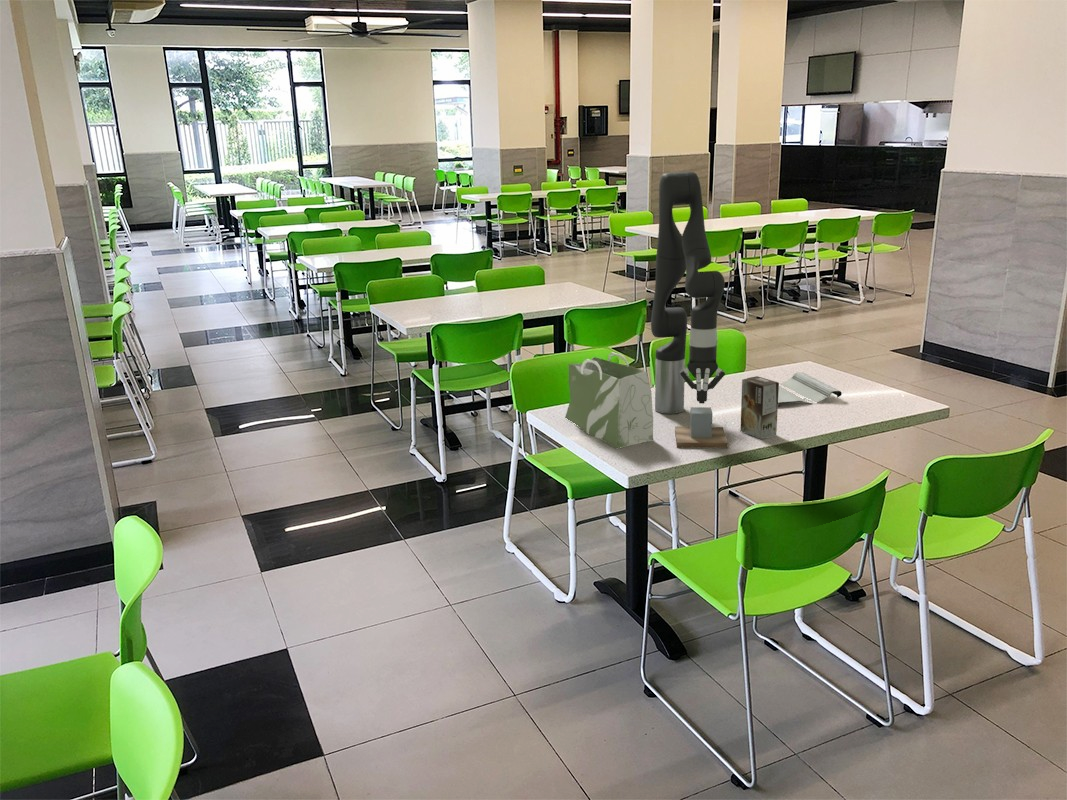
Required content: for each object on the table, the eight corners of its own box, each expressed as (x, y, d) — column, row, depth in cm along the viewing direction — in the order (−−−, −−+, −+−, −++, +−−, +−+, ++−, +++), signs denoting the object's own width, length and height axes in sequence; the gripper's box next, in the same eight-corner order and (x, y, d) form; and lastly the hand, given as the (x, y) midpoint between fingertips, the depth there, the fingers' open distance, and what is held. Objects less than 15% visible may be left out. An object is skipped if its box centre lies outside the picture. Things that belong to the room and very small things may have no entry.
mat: (742, 390, 285) (743, 377, 283) (804, 384, 289) (804, 371, 288) (775, 409, 263) (776, 395, 261) (841, 402, 268) (842, 388, 266)
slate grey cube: (689, 431, 239) (690, 407, 237) (710, 431, 238) (710, 407, 236) (690, 437, 234) (691, 413, 232) (711, 438, 233) (712, 413, 231)
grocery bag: (561, 419, 259) (559, 347, 252) (599, 412, 265) (598, 342, 258) (614, 449, 231) (614, 370, 224) (655, 440, 237) (656, 363, 230)
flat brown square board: (674, 431, 244) (675, 407, 242) (722, 431, 242) (723, 407, 240) (676, 447, 231) (677, 422, 229) (727, 448, 229) (728, 422, 227)
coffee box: (777, 435, 238) (780, 382, 233) (761, 439, 235) (764, 386, 230) (754, 427, 245) (757, 375, 241) (738, 431, 242) (741, 378, 238)
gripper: (726, 340, 231) (724, 399, 236) (678, 340, 233) (677, 398, 238) (728, 346, 224) (726, 406, 229) (679, 346, 226) (678, 406, 231)
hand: (701, 402), depth 233 cm, fingers closed
